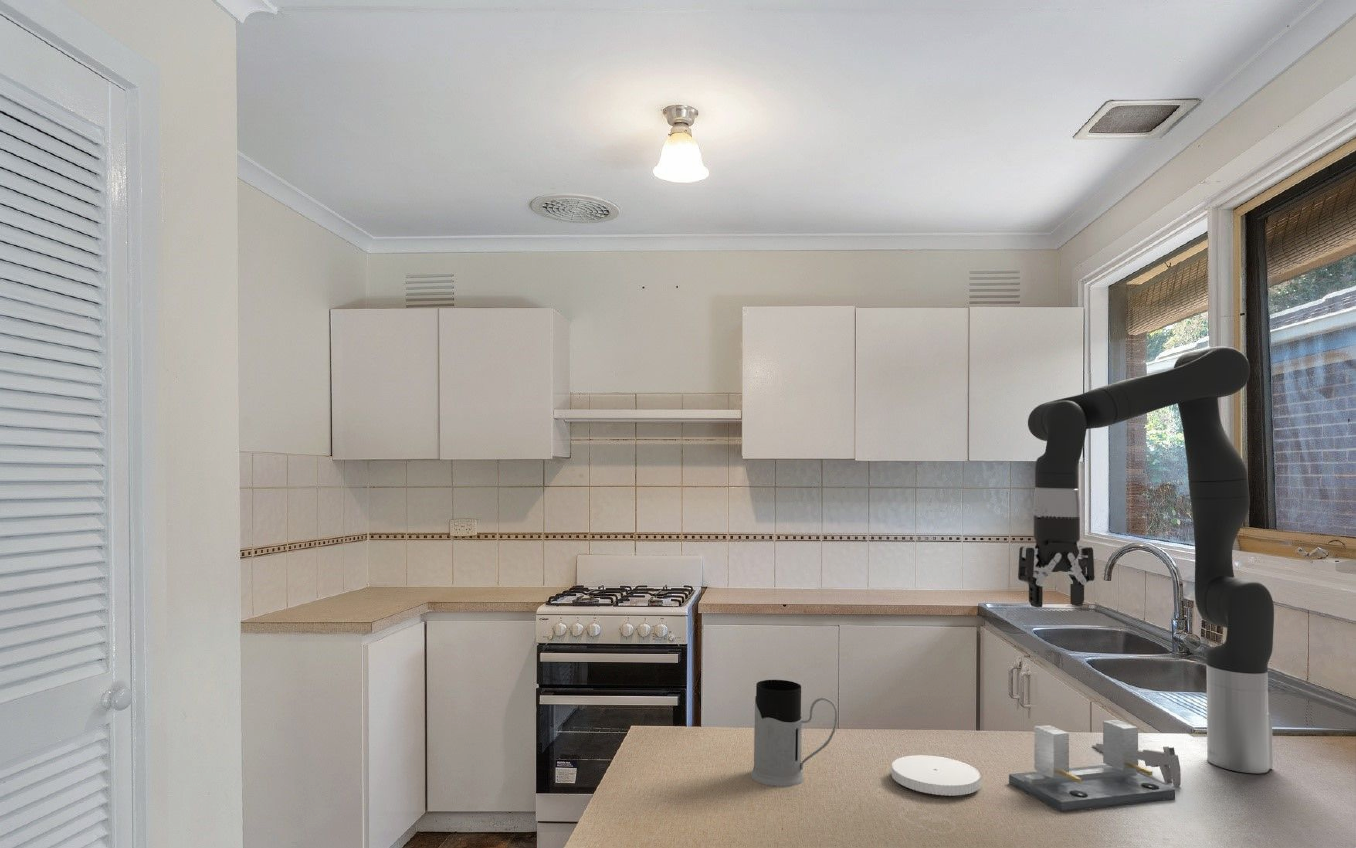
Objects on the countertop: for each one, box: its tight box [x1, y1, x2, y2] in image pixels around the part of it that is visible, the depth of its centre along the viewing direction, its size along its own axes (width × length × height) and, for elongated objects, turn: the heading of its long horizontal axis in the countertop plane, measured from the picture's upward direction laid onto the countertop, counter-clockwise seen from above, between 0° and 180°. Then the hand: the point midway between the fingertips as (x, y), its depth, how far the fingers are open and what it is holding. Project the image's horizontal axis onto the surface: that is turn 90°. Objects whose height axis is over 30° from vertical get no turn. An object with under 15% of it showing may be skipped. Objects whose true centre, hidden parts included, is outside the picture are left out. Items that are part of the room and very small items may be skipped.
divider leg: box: [1033, 724, 1081, 783], centre depth 136 cm, size 3×8×7 cm, turn 17°
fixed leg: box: [1102, 719, 1154, 776], centre depth 140 cm, size 3×8×7 cm, turn 17°
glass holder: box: [750, 679, 838, 788], centre depth 140 cm, size 9×14×15 cm, turn 70°
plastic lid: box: [891, 754, 981, 797], centre depth 139 cm, size 14×14×2 cm
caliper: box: [1091, 742, 1182, 787], centre depth 150 cm, size 20×1×6 cm, turn 12°
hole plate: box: [1008, 764, 1176, 813], centre depth 137 cm, size 22×12×2 cm, turn 107°
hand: (1056, 606), depth 149 cm, fingers open, 8 cm apart
